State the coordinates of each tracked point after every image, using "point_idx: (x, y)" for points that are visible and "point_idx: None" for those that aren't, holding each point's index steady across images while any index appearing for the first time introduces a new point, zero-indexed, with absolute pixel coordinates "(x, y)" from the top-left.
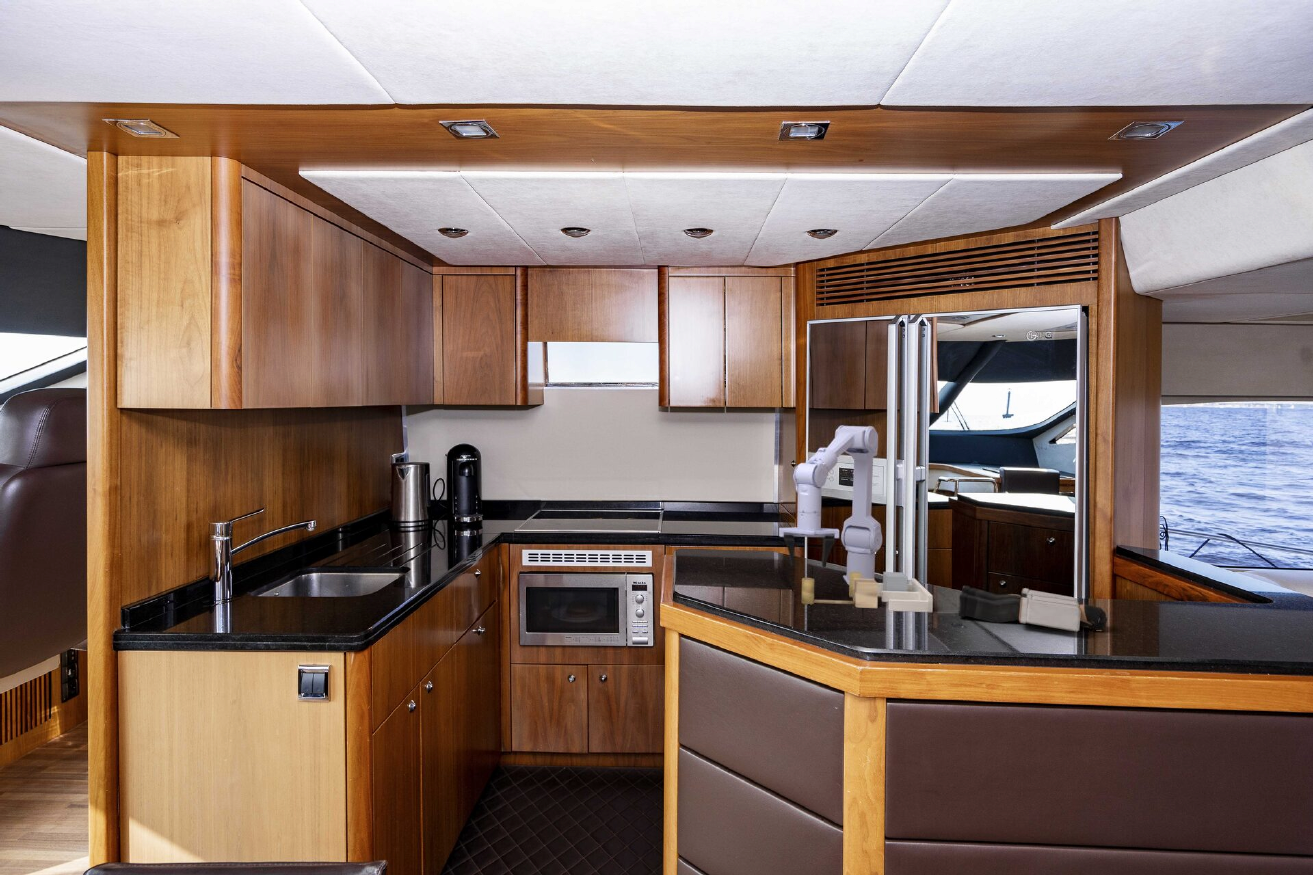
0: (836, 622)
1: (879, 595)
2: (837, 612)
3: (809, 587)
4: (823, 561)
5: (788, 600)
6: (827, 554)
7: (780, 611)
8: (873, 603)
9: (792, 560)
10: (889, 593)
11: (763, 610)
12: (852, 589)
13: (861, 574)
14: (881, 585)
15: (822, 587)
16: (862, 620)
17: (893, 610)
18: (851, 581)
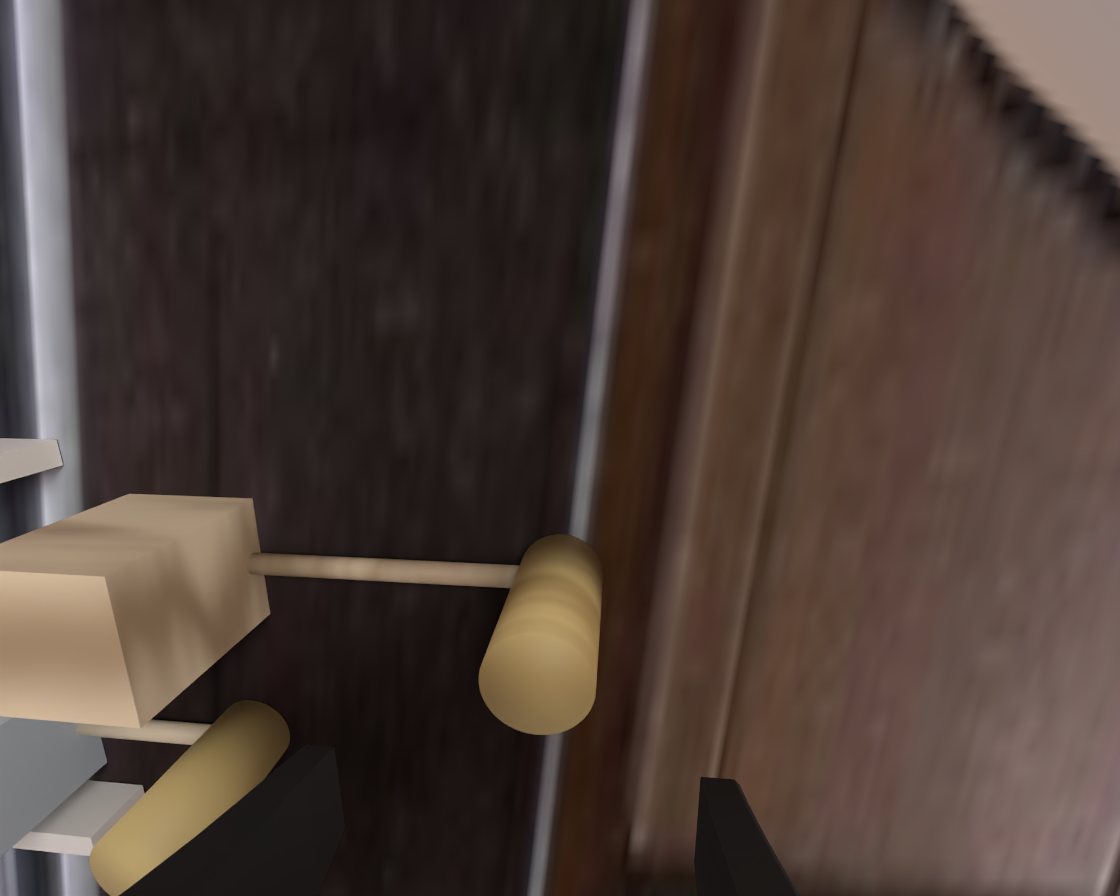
0: (397, 89)
1: None
2: (376, 362)
3: (537, 596)
4: (287, 796)
5: (688, 620)
6: (143, 889)
7: (796, 337)
8: (126, 504)
9: (750, 840)
10: None
11: (933, 348)
12: (240, 745)
13: (95, 850)
14: (70, 826)
15: (436, 889)
16: (215, 179)
17: (32, 439)
18: (208, 798)
